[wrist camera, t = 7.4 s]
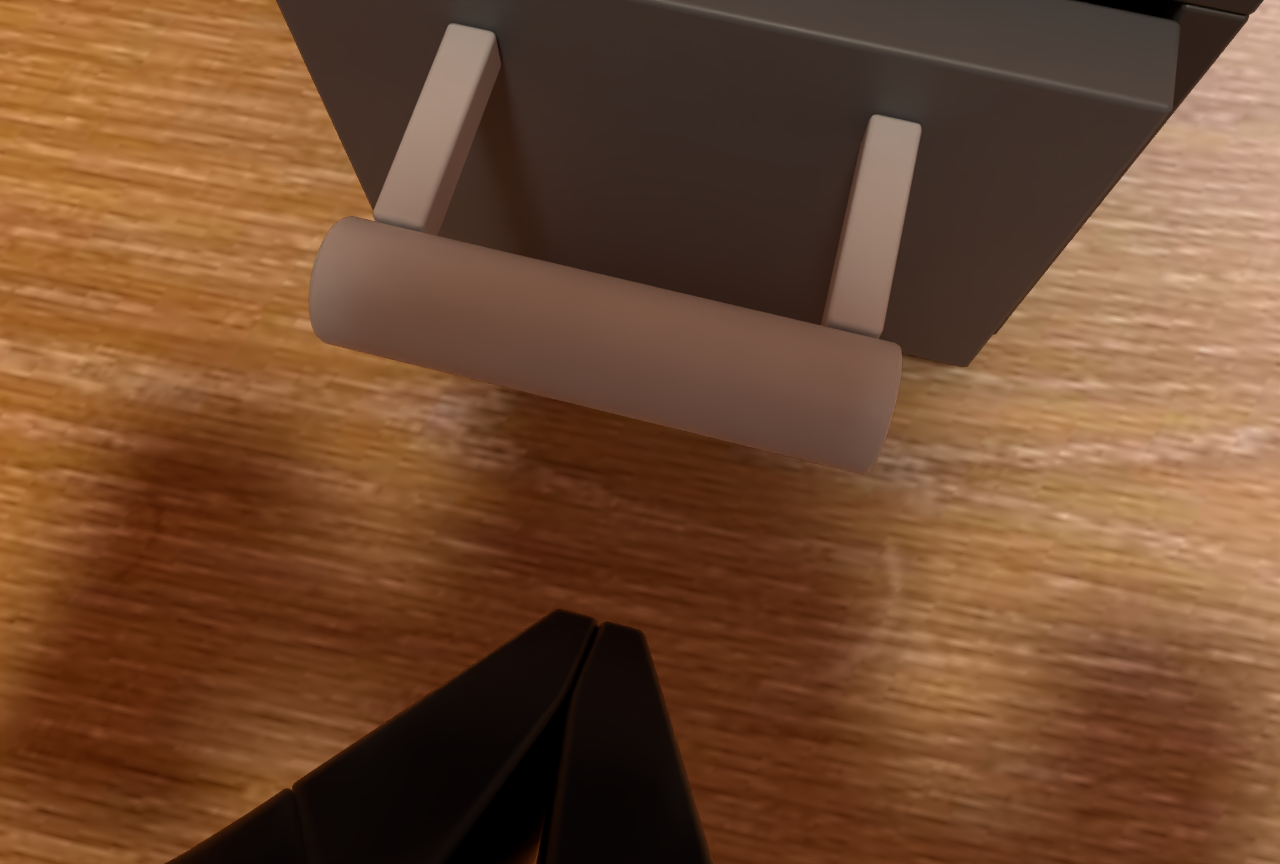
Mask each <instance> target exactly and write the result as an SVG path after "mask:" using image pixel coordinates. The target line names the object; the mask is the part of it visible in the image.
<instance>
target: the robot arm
mask: <svg viewBox="0 0 1280 864" xmlns="http://www.w3.org/2000/svg"><path fill="white" fill-rule="evenodd" d="M539 845H540V846H539ZM538 848H539V851H538ZM537 851H538V857H537V862H536V864H713V861H712V857H711V854H710V851H709V847H708V844H707V841H706V837H705V834H704V831H703V827H702V824H701V820H700V817H699V814H698V810H697V807H696V804H695V800H694V797H693V794H692V790H691V787H690V783H689V780H688V777H687V773H686V770H685V767H684V763H683V760H682V757H681V753H680V750H679V746H678V743H677V740H676V736H675V733H674V730H673V726H672V723H671V720H670V716H669V713H668V709H667V706H666V703H665V699H664V696H663V693H662V689H661V686H660V683H659V679H658V676H657V672H656V669H655V666H654V662H653V659H652V656H651V652H650V649H649V646H648V642H647V639H646V636H645V634H644V633H643V632H642V631H641V630H639V629H636V628H632V627H628V626H625V625H621V624H617V623H613V622H609V621H605V622H602V623H601V624H600V625H599V626H598V621H597V620H596V619H595V618H593V617H590V616H587V615H583V614H579V613H575V612H571V611H568V610H564V609H557V610H554V611H552V612H550V613H549V614H547V615H546V616H544V617H543V618H541V619H540V620H538V621H537V622H535V623H534V624H532V625H531V626H529V627H528V628H526V629H525V630H523V631H522V632H520V633H519V634H517V635H516V636H514V637H513V638H511V639H510V640H508V641H507V642H505V643H504V644H502V645H501V646H499V647H498V648H496V649H495V650H493V651H492V652H490V653H489V654H487V655H486V656H484V657H483V658H481V659H480V660H478V661H477V662H475V663H474V664H472V665H471V666H469V667H468V668H466V669H465V670H463V671H462V672H460V673H459V674H457V675H456V676H454V677H453V678H451V679H450V680H448V681H447V682H445V683H444V684H442V685H441V686H439V687H438V688H436V689H435V690H433V691H432V692H430V693H429V694H427V695H426V696H424V697H423V698H421V699H420V700H418V701H417V702H415V703H414V704H412V705H411V706H409V707H408V708H406V709H405V710H403V711H402V712H400V713H399V714H397V715H396V716H394V717H393V718H391V719H390V720H388V721H387V722H385V723H384V724H382V725H381V726H379V727H378V728H376V729H375V730H373V731H372V732H370V733H369V734H367V735H366V736H364V737H363V738H361V739H360V740H358V741H357V742H355V743H354V744H352V745H351V746H349V747H348V748H346V749H345V750H343V751H342V752H340V753H339V754H337V755H336V756H334V757H333V758H331V759H330V760H328V761H326V762H325V763H323V764H322V765H320V766H319V767H317V768H316V769H314V770H313V771H311V772H310V773H308V774H307V775H305V776H304V777H302V778H301V779H299V780H298V781H296V782H295V783H294V784H293V786H292V790H291V789H289V788H287V789H284V790H282V791H281V792H279V793H278V794H276V795H275V796H273V797H272V798H270V799H269V800H267V801H266V802H264V803H263V804H261V805H260V806H258V807H257V808H255V809H254V810H252V811H251V812H249V813H248V814H246V815H244V816H243V817H241V818H240V819H238V820H236V821H235V822H233V823H232V824H230V825H228V826H227V827H225V828H224V829H222V830H220V831H219V832H217V833H216V834H214V835H212V836H211V837H209V838H208V839H206V840H205V841H203V842H201V843H200V844H198V845H197V846H195V847H193V848H192V849H190V850H188V851H187V852H185V853H183V854H181V855H179V856H178V857H176V858H174V859H172V860H171V861H169V862H167V863H165V864H533V862H534V860H535V857H536V854H537Z"/></svg>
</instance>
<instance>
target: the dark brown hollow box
mask: <svg viewBox="0 0 1280 864" xmlns="http://www.w3.org/2000/svg"><path fill="white" fill-rule="evenodd" d="M1262 2H1263V0H1089V1H1088V3H1091V4H1096V5H1100V6H1105V7H1110V8H1115V9H1120V10H1125V11H1130V12H1135V13H1140V14H1145V15H1150V16H1155V17H1160V18H1165V19H1170V20H1174V21H1176V22H1178V23H1179V24H1180V37H1179V47H1178V58H1177V68H1176V78H1175V89H1174V99H1173V108H1172V111H1171V112H1170V113H1169V115H1168V116H1167V117H1166V118H1165V120H1164V121H1163V122H1162V124H1161V125H1160V126H1159V127H1158V129H1157V130H1156V131H1155V132H1154V134H1153V135H1152V136H1151V137H1150V139H1149V140H1148V141H1147V142H1146V144H1145V145H1144V146H1143V147H1142V149H1141V150H1140V151H1139V152H1138V154H1137V155H1136V156H1135V157H1134V159H1133V160H1132V161H1131V162H1130V164H1129V165H1128V166H1127V167H1126V169H1125V170H1124V171H1123V172H1122V174H1121V175H1120V176H1119V177H1118V179H1117V180H1116V181H1115V182H1114V184H1113V185H1112V186H1111V187H1110V189H1109V190H1108V191H1107V192H1106V194H1105V195H1104V196H1103V197H1102V199H1101V200H1100V201H1099V202H1098V204H1097V205H1096V206H1095V207H1094V209H1093V210H1092V211H1091V212H1090V214H1089V215H1088V216H1087V217H1086V219H1085V220H1084V221H1083V222H1082V224H1081V225H1080V226H1079V227H1078V229H1077V230H1076V231H1075V232H1074V234H1073V235H1072V236H1071V237H1070V239H1069V240H1068V241H1067V242H1066V244H1065V245H1064V246H1063V247H1062V249H1061V250H1060V251H1059V252H1058V254H1057V255H1056V256H1055V257H1054V259H1053V260H1052V261H1051V262H1050V264H1049V265H1048V266H1047V267H1046V269H1045V270H1044V271H1043V272H1042V274H1041V275H1040V276H1039V277H1038V279H1037V280H1036V281H1035V282H1034V284H1033V285H1032V286H1031V287H1030V289H1029V290H1028V291H1027V292H1026V294H1025V295H1024V296H1023V297H1022V299H1021V300H1020V301H1019V302H1018V304H1017V305H1016V306H1015V307H1014V309H1013V310H1012V311H1011V312H1010V314H1009V315H1008V316H1007V317H1006V319H1005V320H1004V321H1003V322H1002V324H1001V325H1000V326H999V327H998V329H997V330H996V331H995V332H994V334H996V333H997V332H998V331H999V329H1000V328H1001V327H1002V326H1003V324H1004V323H1005V322H1006V321H1007V319H1008V318H1009V316H1010V315H1011V314H1012V313H1013V312H1014V310H1015V309H1016V308H1017V307H1018V305H1019V304H1020V303H1021V302H1022V301H1023V299H1024V298H1025V297H1026V296H1027V294H1028V293H1029V292H1030V291H1031V289H1032V288H1033V287H1034V286H1035V284H1036V283H1037V282H1038V281H1039V279H1040V278H1041V277H1042V276H1043V274H1044V273H1045V272H1046V271H1047V269H1048V268H1049V267H1050V266H1051V264H1052V263H1053V262H1054V261H1055V259H1056V258H1057V257H1058V256H1059V255H1060V253H1061V252H1062V251H1063V250H1064V248H1065V247H1066V246H1067V245H1068V243H1069V242H1070V241H1071V240H1072V238H1073V237H1074V236H1075V235H1076V233H1077V232H1078V231H1079V230H1080V228H1081V227H1082V226H1083V225H1084V223H1085V222H1086V221H1087V220H1088V218H1089V217H1090V216H1091V215H1092V213H1093V212H1094V211H1095V210H1096V209H1097V207H1098V206H1099V205H1100V204H1101V202H1102V201H1103V200H1104V199H1105V197H1106V196H1107V195H1108V194H1109V192H1110V191H1111V190H1112V189H1113V187H1114V186H1115V185H1116V184H1117V182H1118V181H1119V180H1120V179H1121V177H1122V176H1123V175H1124V174H1125V172H1126V171H1127V170H1128V169H1129V167H1130V166H1131V165H1132V164H1133V163H1134V161H1135V160H1136V159H1137V158H1138V156H1139V155H1140V154H1141V153H1142V151H1143V150H1144V149H1145V148H1146V146H1147V145H1148V144H1149V143H1150V141H1151V140H1152V139H1153V138H1154V136H1155V135H1156V134H1157V133H1158V131H1159V130H1160V129H1161V128H1162V126H1163V125H1164V124H1165V123H1166V121H1167V120H1168V119H1169V118H1170V117H1171V115H1172V114H1173V113H1174V112H1175V110H1176V109H1177V108H1178V107H1179V105H1180V104H1181V103H1182V102H1183V100H1184V99H1185V98H1186V97H1187V95H1188V94H1189V93H1190V92H1191V90H1192V89H1193V88H1194V87H1195V85H1196V84H1197V83H1198V82H1199V80H1200V79H1201V78H1202V77H1203V75H1204V74H1205V73H1206V72H1207V70H1208V69H1209V68H1210V67H1211V66H1212V64H1213V63H1214V62H1215V61H1216V59H1217V58H1218V57H1219V56H1220V54H1221V53H1222V52H1223V51H1224V49H1225V48H1226V47H1227V46H1228V44H1229V43H1230V42H1231V41H1232V39H1233V38H1234V37H1235V36H1236V34H1237V33H1238V32H1239V31H1240V29H1241V28H1242V27H1243V26H1244V24H1245V23H1246V22H1247V20H1248V18H1249V14H1252V13H1253V12H1255V10H1256V9H1257V8H1258V7H1259V5H1260V4H1261V3H1262Z"/></svg>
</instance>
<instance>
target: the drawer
mask: <svg viewBox="0 0 1280 864" xmlns="http://www.w3.org/2000/svg"><path fill="white" fill-rule="evenodd" d="M276 1H277V3H278V6H279V8H280V10H281V12H282V14H283V16H284V19H285V21H286V23H287V25H288V27H289V29H290V32H291V34H292V36H293V38H294V40H295V42H296V45H297V47H298V49H299V51H300V53H301V55H302V58H303V60H304V62H305V64H306V66H307V68H308V71H309V73H310V75H311V77H312V79H313V81H314V84H315V86H316V88H317V90H318V92H319V94H320V97H321V99H322V101H323V103H324V105H325V107H326V110H327V112H328V114H329V116H330V118H331V120H332V123H333V125H334V127H335V129H336V131H337V133H338V136H339V138H340V140H341V142H342V144H343V146H344V149H345V151H346V153H347V155H348V157H349V160H350V162H351V164H352V166H353V168H354V170H355V173H356V175H357V177H358V179H359V181H360V183H361V186H362V188H363V190H364V192H365V194H366V196H367V199H368V201H369V203H370V205H371V207H372V209H373V217H374V219H375V221H371V220H367V219H363V218H358V217H354V216H351V217H345V218H342V219H340V220H339V221H337V222H336V223H335V224H334V225H333V226H332V227H331V229H330V230H329V232H328V233H327V234H326V236H325V238H324V240H323V242H322V244H321V246H320V248H319V251H318V254H317V256H316V260H315V263H314V267H313V271H312V276H311V281H310V289H309V315H310V321H311V325H312V328H313V330H314V332H315V334H316V335H317V337H318V338H319V339H321V340H322V341H323V342H325V343H327V344H331V345H335V346H339V347H343V348H347V349H351V350H356V351H360V352H364V353H368V354H372V355H376V356H380V357H384V358H388V359H392V360H396V361H400V362H404V363H409V364H413V365H417V366H421V367H425V368H429V369H433V370H437V371H441V372H445V373H449V374H453V375H458V376H462V377H466V378H470V379H474V380H478V381H482V382H486V383H490V384H494V385H498V386H502V387H507V388H511V389H515V390H519V391H523V392H527V393H531V394H535V395H539V396H543V397H547V398H551V399H555V400H560V401H564V402H568V403H572V404H576V405H580V406H584V407H588V408H592V409H596V410H600V411H604V412H609V413H613V414H617V415H621V416H625V417H629V418H633V419H637V420H641V421H645V422H649V423H653V424H658V425H662V426H666V427H670V428H674V429H678V430H682V431H686V432H690V433H694V434H698V435H702V436H707V437H711V438H715V439H719V440H723V441H727V442H731V443H735V444H739V445H743V446H747V447H751V448H755V449H760V450H764V451H768V452H772V453H776V454H780V455H784V456H788V457H792V458H796V459H800V460H804V461H809V462H813V463H817V464H821V465H825V466H829V467H833V468H837V469H841V470H845V471H849V472H853V473H858V474H867V473H869V472H870V470H871V469H872V468H873V466H874V465H875V463H876V461H877V459H878V457H879V455H880V453H881V450H882V448H883V445H884V442H885V439H886V436H887V433H888V430H889V427H890V424H891V420H892V416H893V413H894V409H895V405H896V400H897V396H898V391H899V385H900V380H901V372H902V353H904V354H909V355H913V356H917V357H921V358H926V359H930V360H934V361H939V362H943V363H947V364H951V365H956V366H960V367H967V366H968V365H969V364H970V362H971V361H972V360H973V359H974V357H975V356H976V355H977V354H978V352H979V351H980V350H981V349H982V347H983V346H984V345H985V344H986V342H987V341H988V340H989V339H990V337H991V336H992V335H993V334H994V332H995V331H996V330H997V329H998V327H999V326H1000V325H1001V324H1002V322H1003V321H1004V320H1005V319H1006V317H1007V316H1008V315H1009V314H1010V312H1011V311H1012V310H1013V309H1014V307H1015V306H1016V305H1017V304H1018V302H1019V301H1020V300H1021V299H1022V297H1023V296H1024V295H1025V294H1026V292H1027V291H1028V290H1029V289H1030V287H1031V286H1032V285H1033V284H1034V282H1035V281H1036V280H1037V279H1038V277H1039V276H1040V275H1041V274H1042V272H1043V271H1044V270H1045V269H1046V267H1047V266H1048V265H1049V264H1050V262H1051V261H1052V260H1053V259H1054V257H1055V256H1056V255H1057V254H1058V252H1059V251H1060V250H1061V249H1062V247H1063V246H1064V245H1065V244H1066V242H1067V241H1068V240H1069V239H1070V237H1071V236H1072V235H1073V234H1074V232H1075V231H1076V230H1077V229H1078V227H1079V226H1080V225H1081V224H1082V222H1083V221H1084V220H1085V219H1086V217H1087V216H1088V215H1089V214H1090V212H1091V211H1092V210H1093V209H1094V207H1095V206H1096V205H1097V204H1098V202H1099V201H1100V200H1101V199H1102V197H1103V196H1104V195H1105V194H1106V192H1107V191H1108V190H1109V189H1110V187H1111V186H1112V185H1113V184H1114V182H1115V181H1116V180H1117V179H1118V177H1119V176H1120V175H1121V174H1122V172H1123V171H1124V170H1125V169H1126V167H1127V166H1128V165H1129V164H1130V162H1131V161H1132V160H1133V159H1134V157H1135V156H1136V155H1137V154H1138V152H1139V151H1140V150H1141V149H1142V147H1143V146H1144V145H1145V144H1146V142H1147V141H1148V140H1149V139H1150V137H1151V136H1152V135H1153V134H1154V132H1155V131H1156V130H1157V129H1158V127H1159V126H1160V125H1161V124H1162V122H1163V121H1164V120H1165V118H1166V117H1167V116H1168V115H1169V113H1170V112H1171V111H1172V108H1173V99H1174V89H1175V78H1176V68H1177V58H1178V47H1179V37H1180V24H1179V23H1178V22H1176V21H1174V20H1170V19H1165V18H1160V17H1155V16H1150V15H1145V14H1140V13H1135V12H1130V11H1125V10H1120V9H1115V8H1110V7H1105V6H1100V5H1096V4H1091V3H1088V1H1089V0H276Z"/></svg>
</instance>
